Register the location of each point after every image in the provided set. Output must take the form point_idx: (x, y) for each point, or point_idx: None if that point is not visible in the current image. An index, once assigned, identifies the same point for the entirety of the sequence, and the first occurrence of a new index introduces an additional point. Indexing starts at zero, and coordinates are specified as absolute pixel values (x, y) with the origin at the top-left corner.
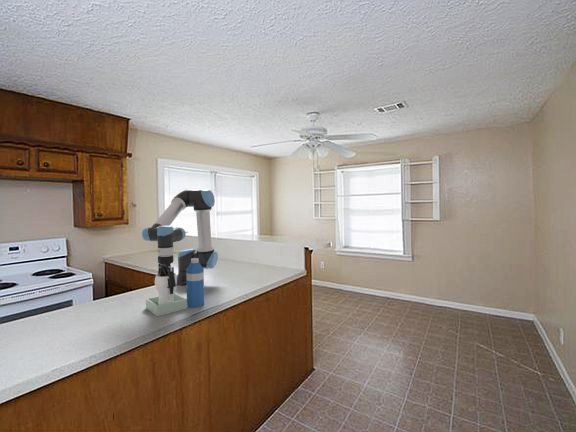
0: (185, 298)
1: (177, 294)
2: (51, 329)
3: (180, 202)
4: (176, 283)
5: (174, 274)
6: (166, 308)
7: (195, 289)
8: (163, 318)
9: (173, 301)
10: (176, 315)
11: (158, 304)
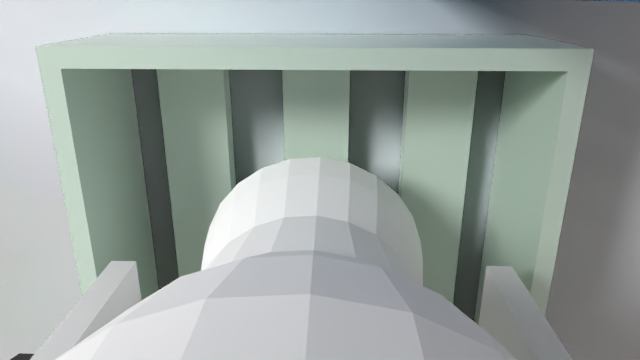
0: (546, 56)
1: (196, 57)
2: None
3: None
4: (488, 338)
5: None
6: None
7: None
8: (587, 355)
9: (396, 201)
10: (631, 237)
11: (148, 260)
